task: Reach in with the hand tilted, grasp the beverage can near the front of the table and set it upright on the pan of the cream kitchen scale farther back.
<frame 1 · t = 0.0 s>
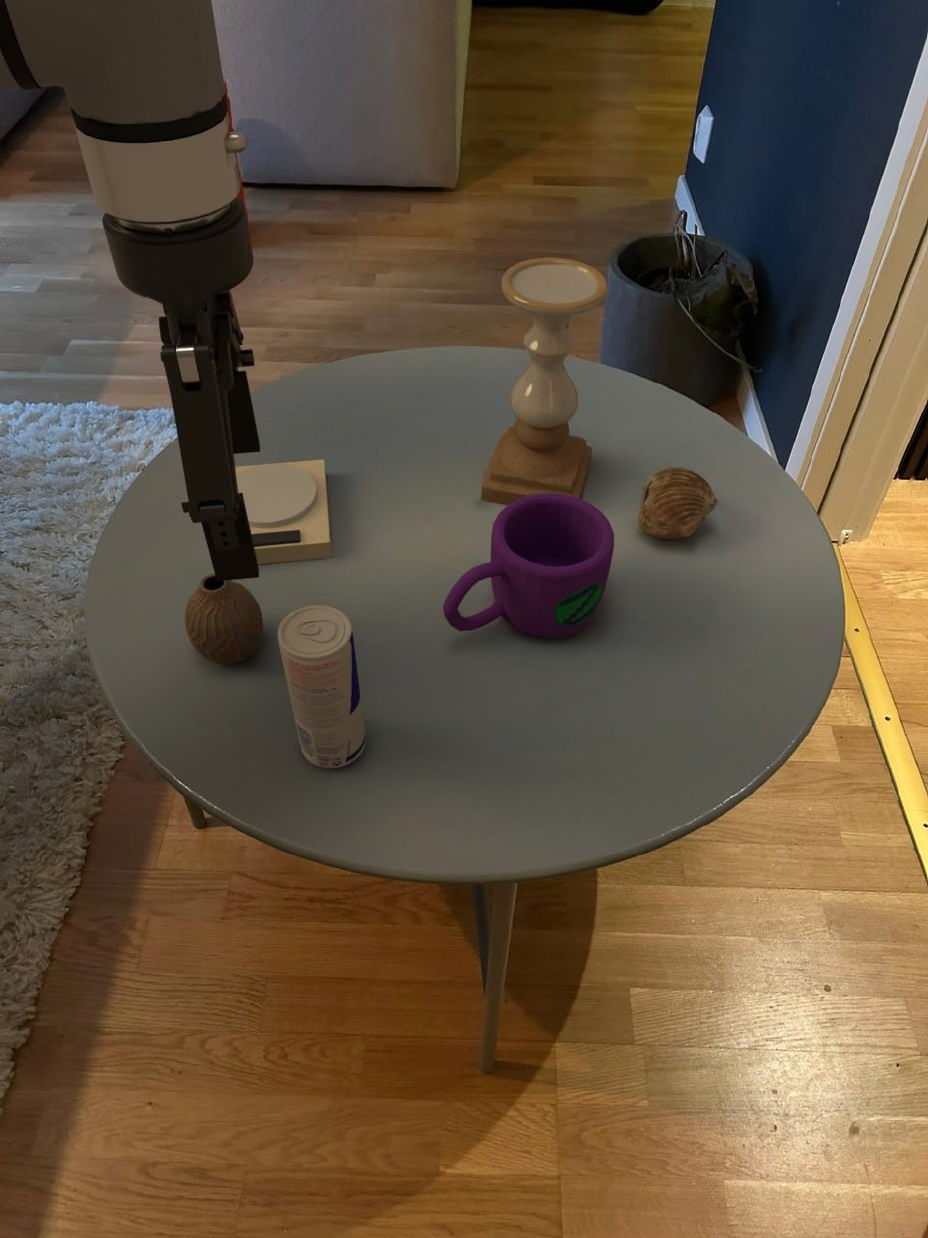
hand: (240, 508, 64), 24 cm above the table, tool pointing down, fingers open, 13 cm apart
vase: (231, 648, 87), on the table
seashell: (671, 527, 99), on the table
candle holder: (537, 479, 104), on the table
mug: (520, 617, 90), on the table
kitchen scale: (273, 518, 99), on the table
beverage can: (334, 745, 79), on the table
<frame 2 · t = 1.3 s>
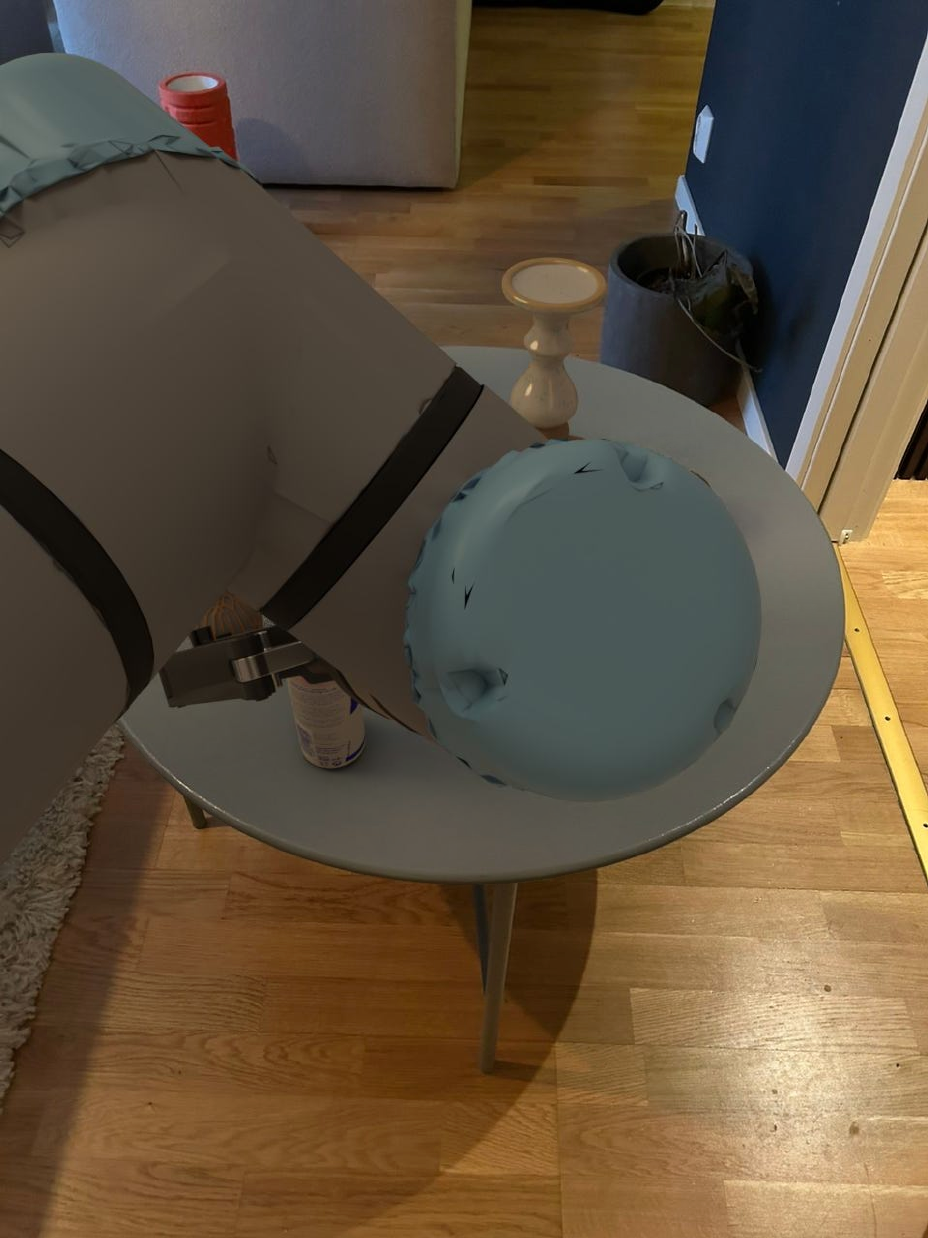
hand: (344, 621, 53), 27 cm above the table, tool tilted 45°, fingers open, 13 cm apart
nothing on the table moved.
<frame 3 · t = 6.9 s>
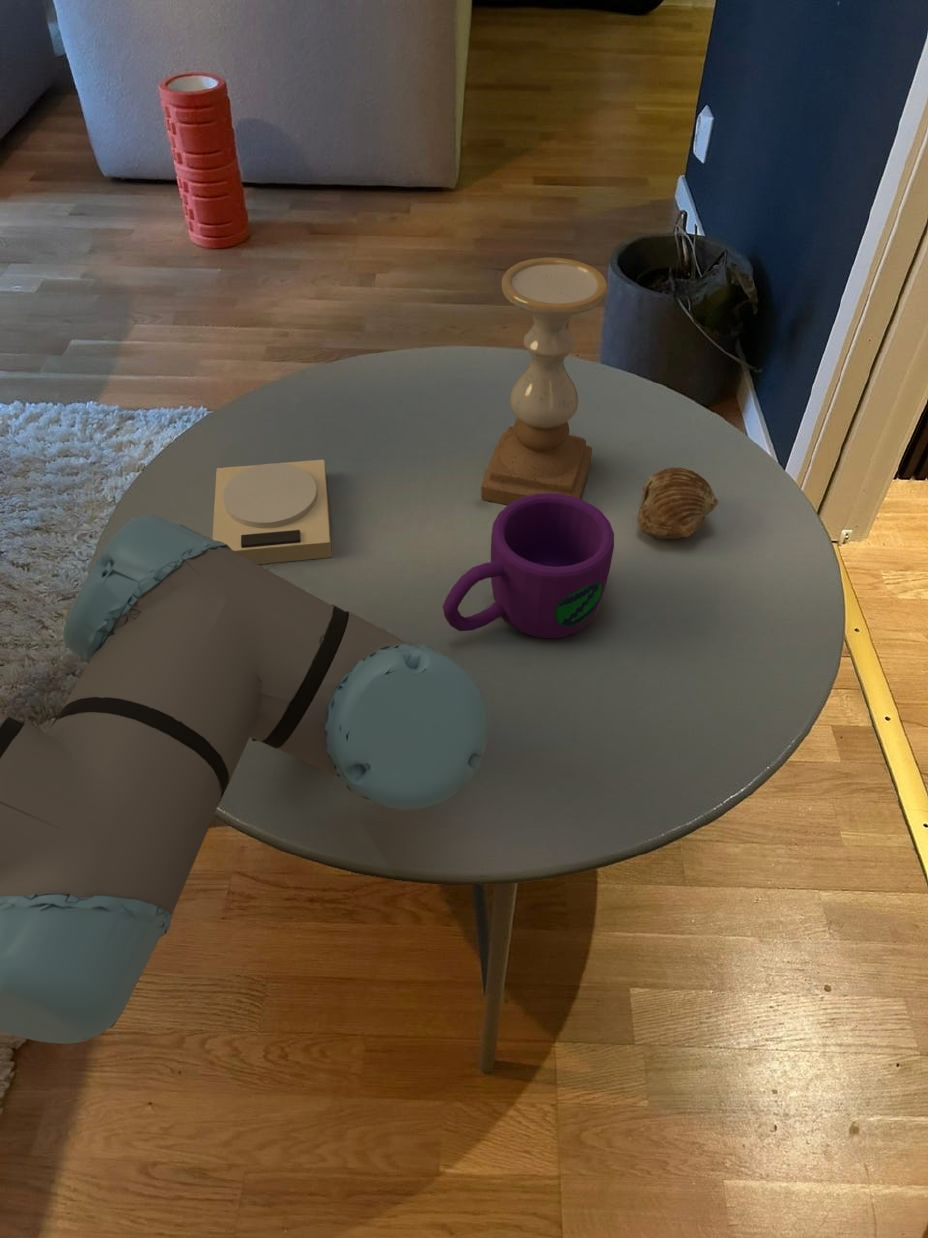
hand: (315, 677, 77), 5 cm above the table, tool tilted 45°, fingers closed on beverage can, 6 cm apart
beverage can: (334, 745, 79), on the table, touching gripper
everything else where it was.
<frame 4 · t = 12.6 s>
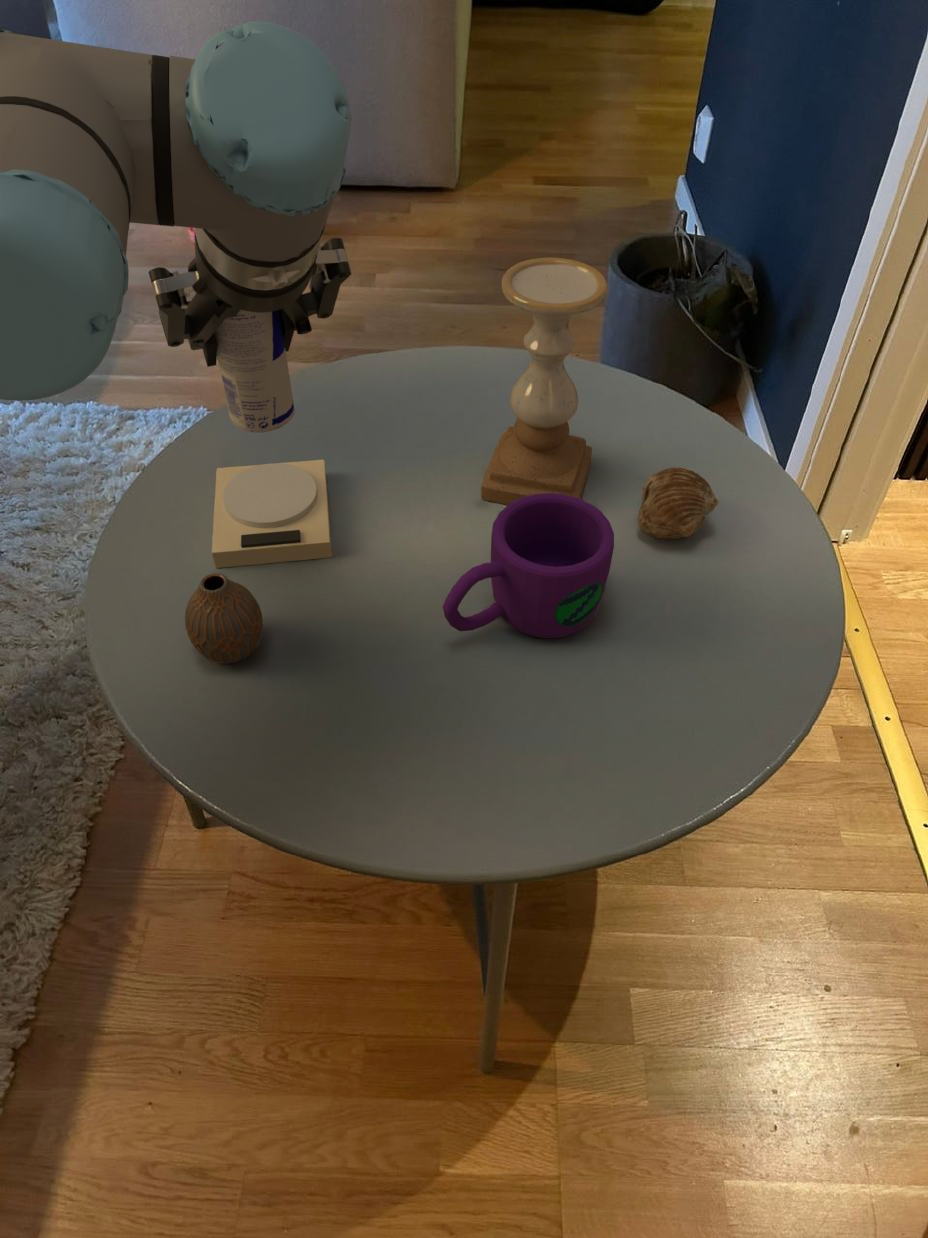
hand: (244, 343, 78), 24 cm above the table, tool tilted 45°, fingers closed on beverage can, 6 cm apart
beverage can: (263, 419, 80), point 19 cm above the table, touching gripper
everything else where it was.
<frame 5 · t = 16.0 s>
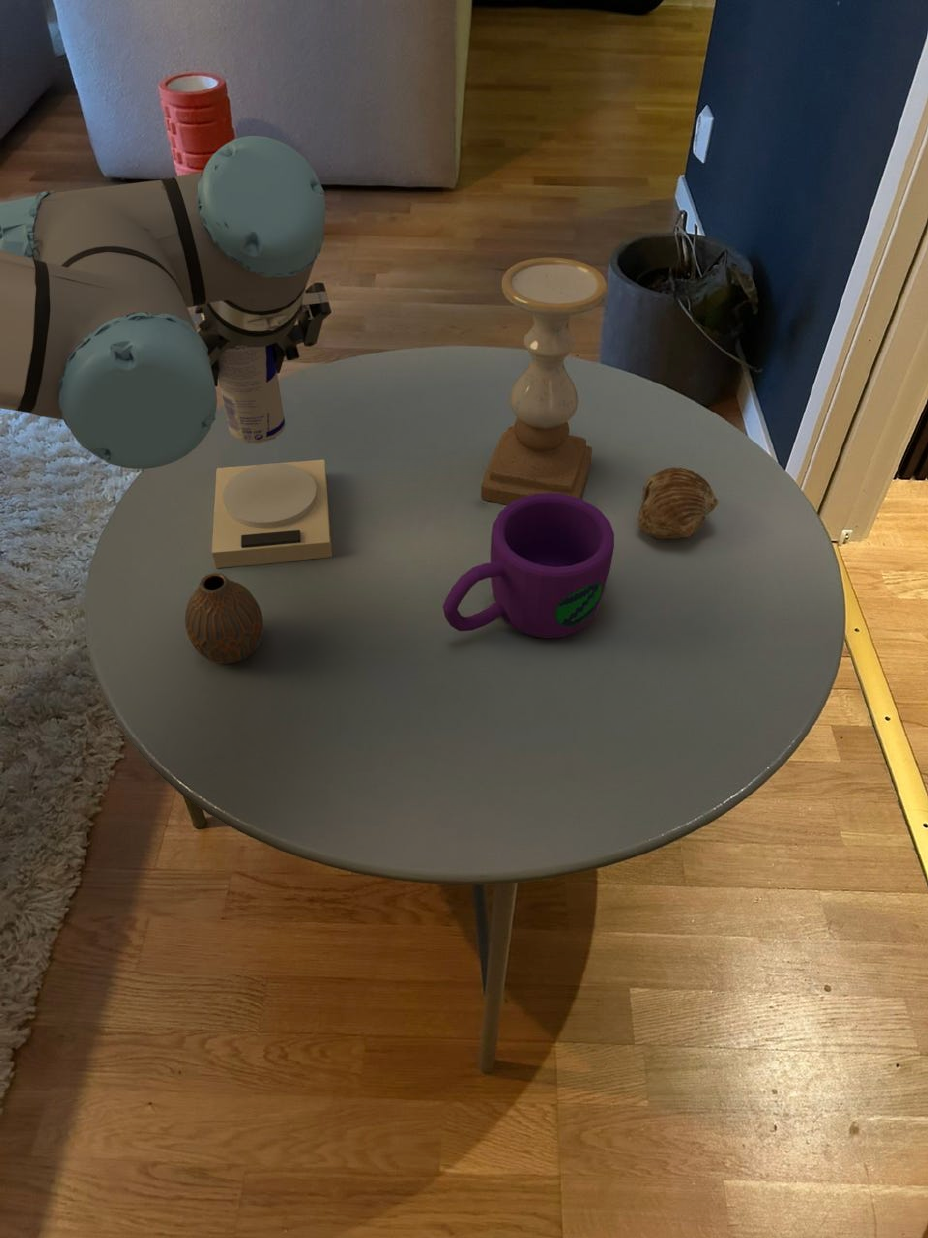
hand: (241, 366, 90), 16 cm above the table, tool tilted 45°, fingers closed on beverage can, 6 cm apart
beverage can: (258, 432, 92), point 11 cm above the table, touching gripper
everything else where it was.
when the fingers open (8 cm above the table, at t = 18.4 s): beverage can stays where it is, resting on kitchen scale.
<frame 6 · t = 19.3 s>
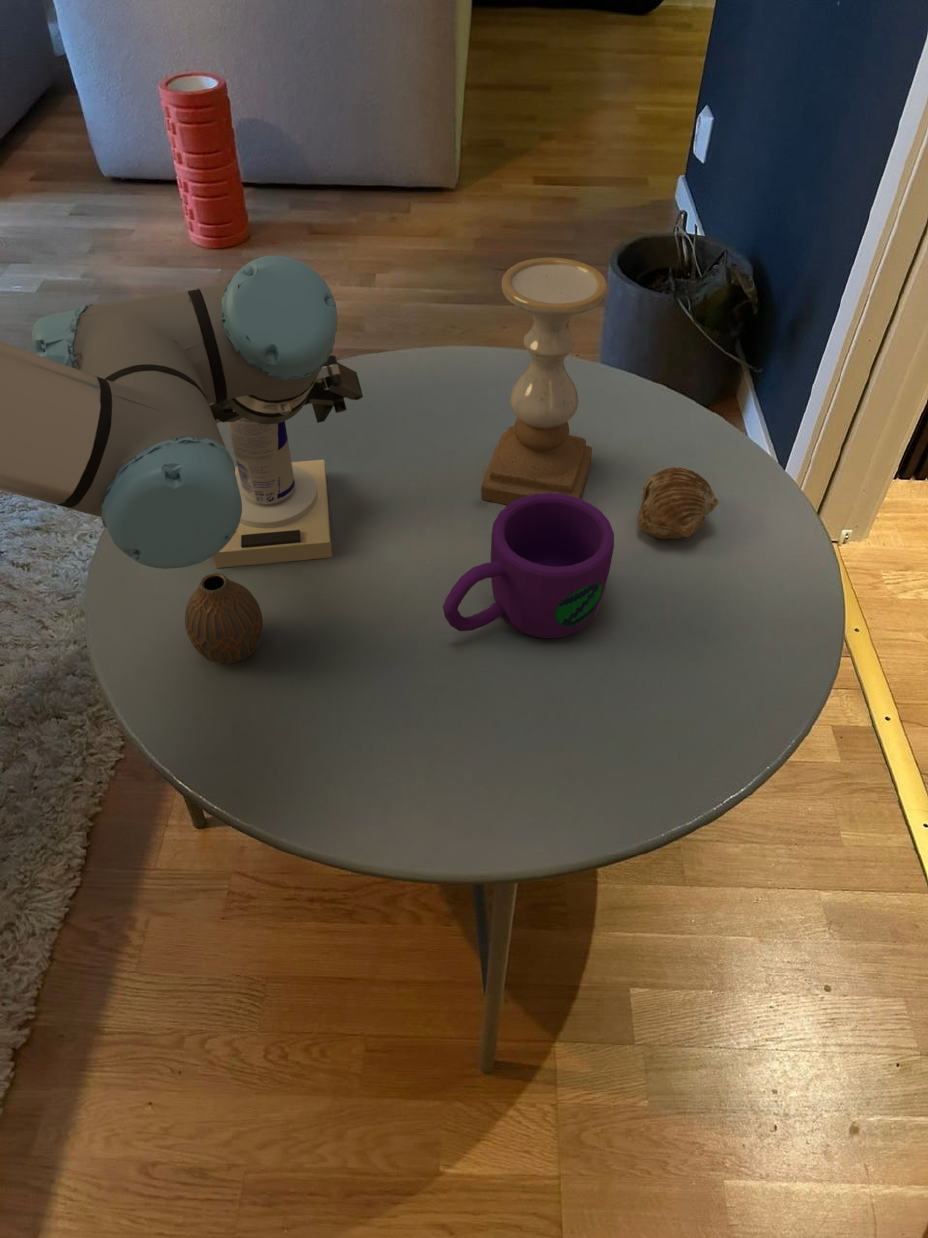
hand: (253, 423, 94), 10 cm above the table, tool tilted 45°, fingers open, 13 cm apart
beverage can: (269, 492, 98), point 3 cm above the table, touching kitchen scale
everything else where it was.
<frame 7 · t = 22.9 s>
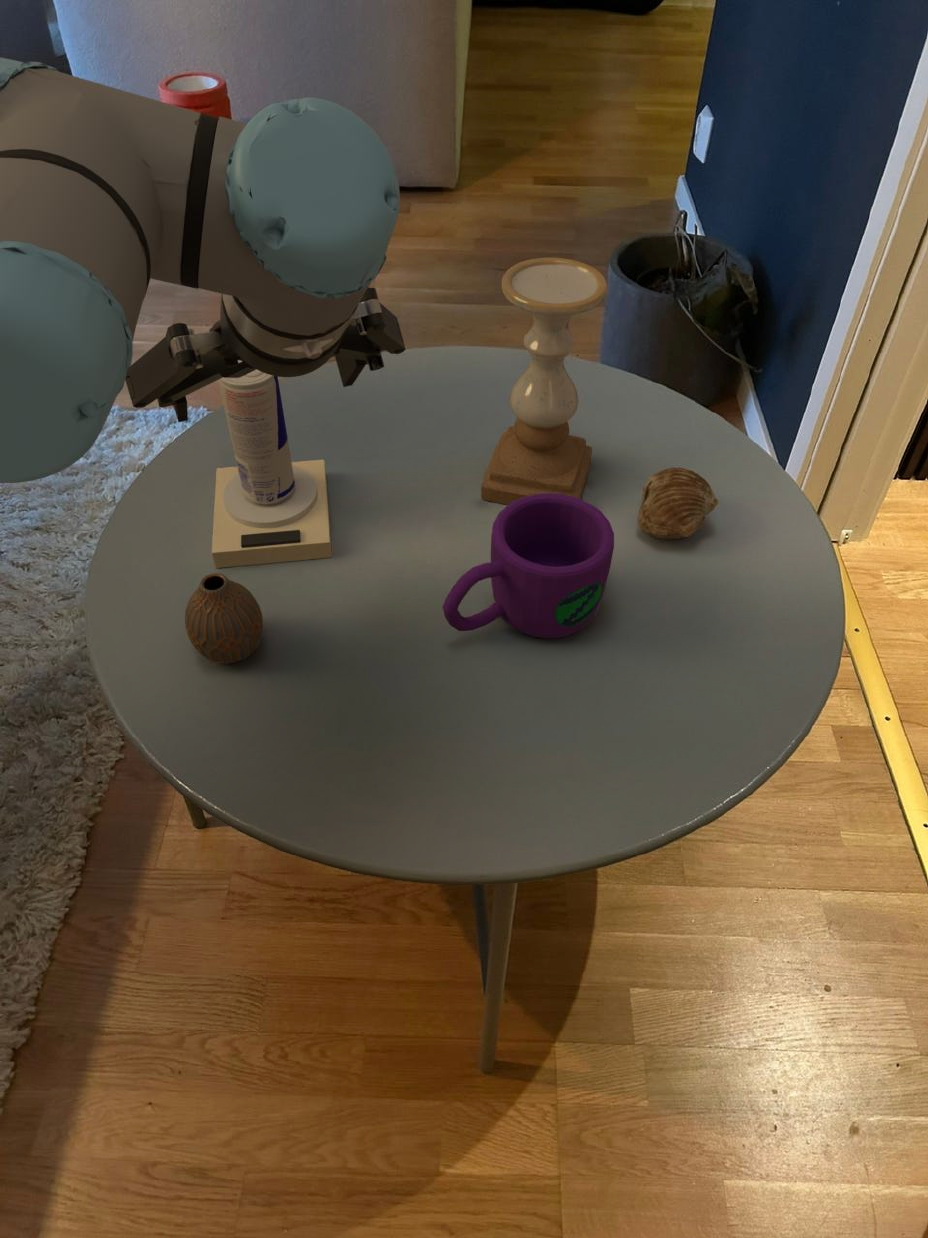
hand: (262, 387, 73), 24 cm above the table, tool tilted 45°, fingers open, 13 cm apart
nothing on the table moved.
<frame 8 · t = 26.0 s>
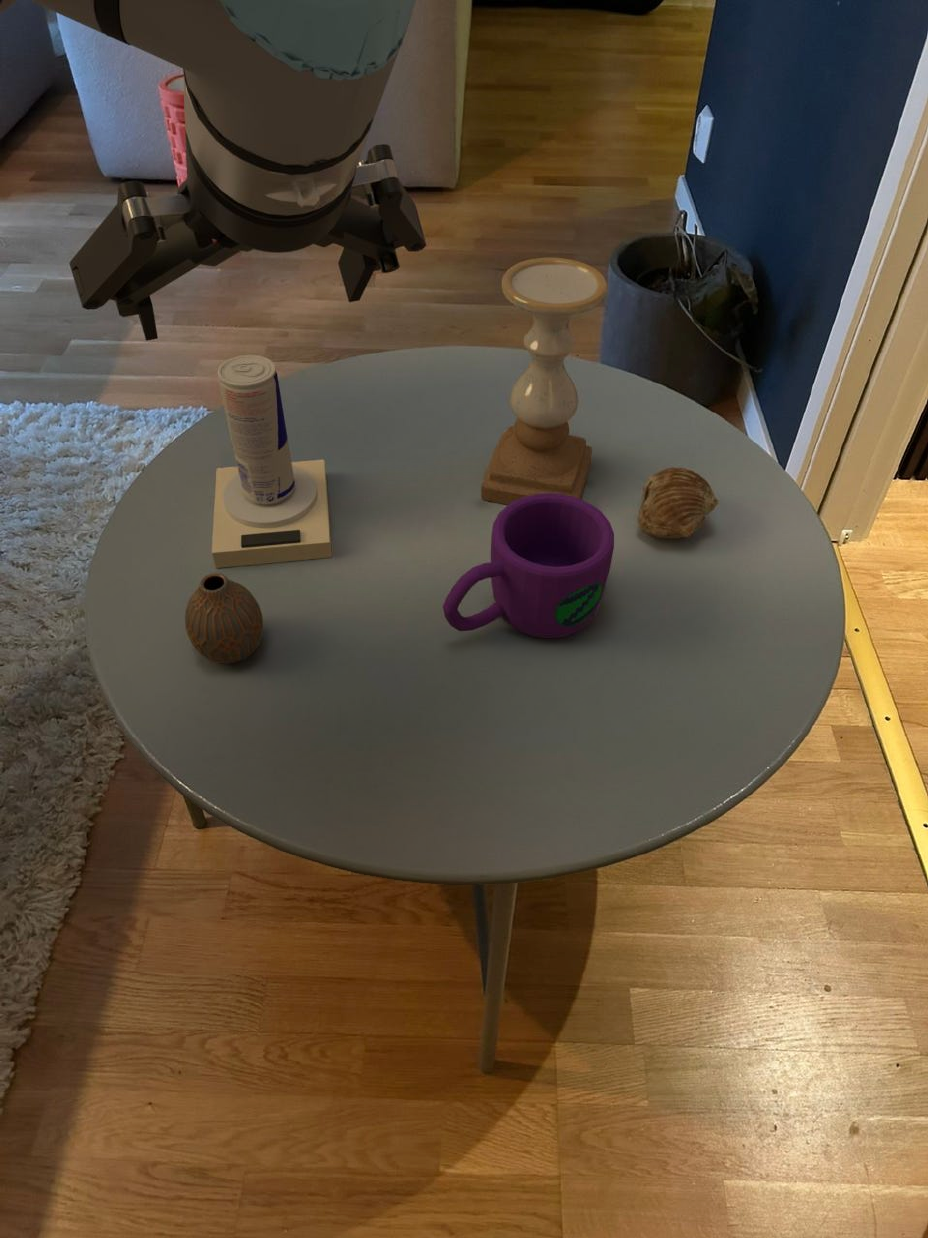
hand: (250, 300, 60), 36 cm above the table, tool tilted 45°, fingers open, 13 cm apart
nothing on the table moved.
at the end: beverage can inside the target area on the kitchen scale (0.2 cm from its centre), point 2.8 cm above the kitchen scale's base; beverage can tilted 0°; the gripper is holding nothing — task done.
